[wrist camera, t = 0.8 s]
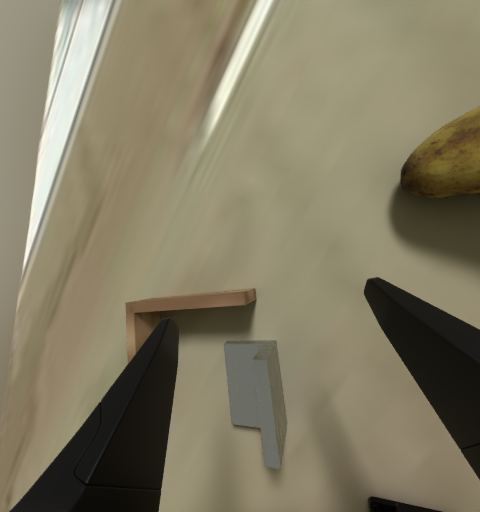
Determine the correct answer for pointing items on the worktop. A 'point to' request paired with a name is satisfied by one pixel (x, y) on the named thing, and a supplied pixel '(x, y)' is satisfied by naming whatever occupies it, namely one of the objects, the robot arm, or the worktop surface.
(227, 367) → the bracket
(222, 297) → the wooden corner frame
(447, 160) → the potato
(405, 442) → the worktop surface
